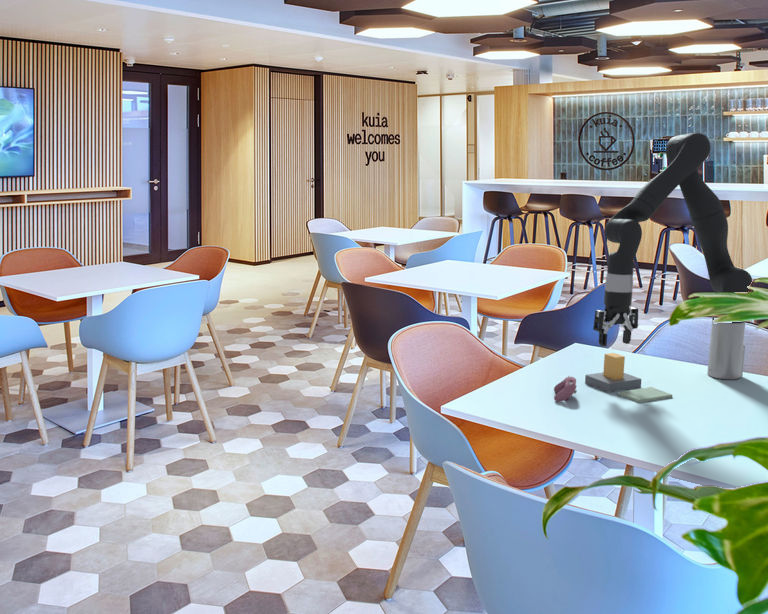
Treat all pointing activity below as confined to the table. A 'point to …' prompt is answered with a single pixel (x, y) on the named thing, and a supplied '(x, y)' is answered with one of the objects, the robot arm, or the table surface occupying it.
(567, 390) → the pink toy
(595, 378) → the graphite dock
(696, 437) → the table surface
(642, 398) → the sage mat
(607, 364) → the amber plug
